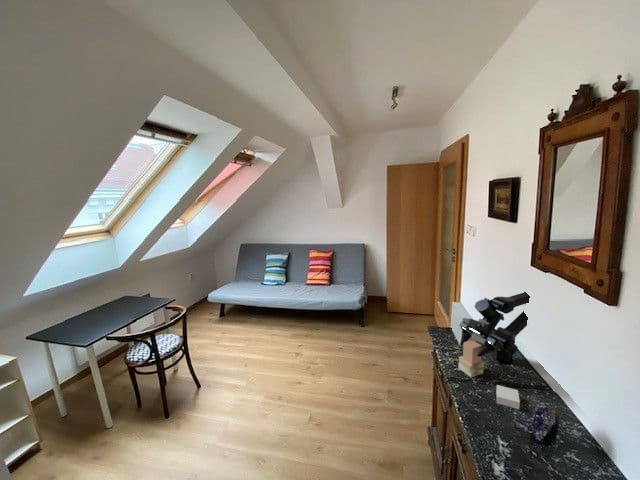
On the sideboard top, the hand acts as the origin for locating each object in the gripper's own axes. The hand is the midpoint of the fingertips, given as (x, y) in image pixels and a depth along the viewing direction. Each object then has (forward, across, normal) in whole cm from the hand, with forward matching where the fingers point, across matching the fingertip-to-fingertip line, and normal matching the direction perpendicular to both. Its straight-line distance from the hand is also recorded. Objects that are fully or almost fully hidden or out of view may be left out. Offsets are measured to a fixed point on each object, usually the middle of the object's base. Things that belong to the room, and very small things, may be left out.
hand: (469, 350), depth 123 cm
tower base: (+7, 0, +9) cm, 11 cm away
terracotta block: (+2, 0, +5) cm, 5 cm away
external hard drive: (-12, -19, +28) cm, 35 cm away
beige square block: (+4, 0, +7) cm, 8 cm away
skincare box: (-6, -24, +22) cm, 33 cm away
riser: (+7, +18, +8) cm, 21 cm away
